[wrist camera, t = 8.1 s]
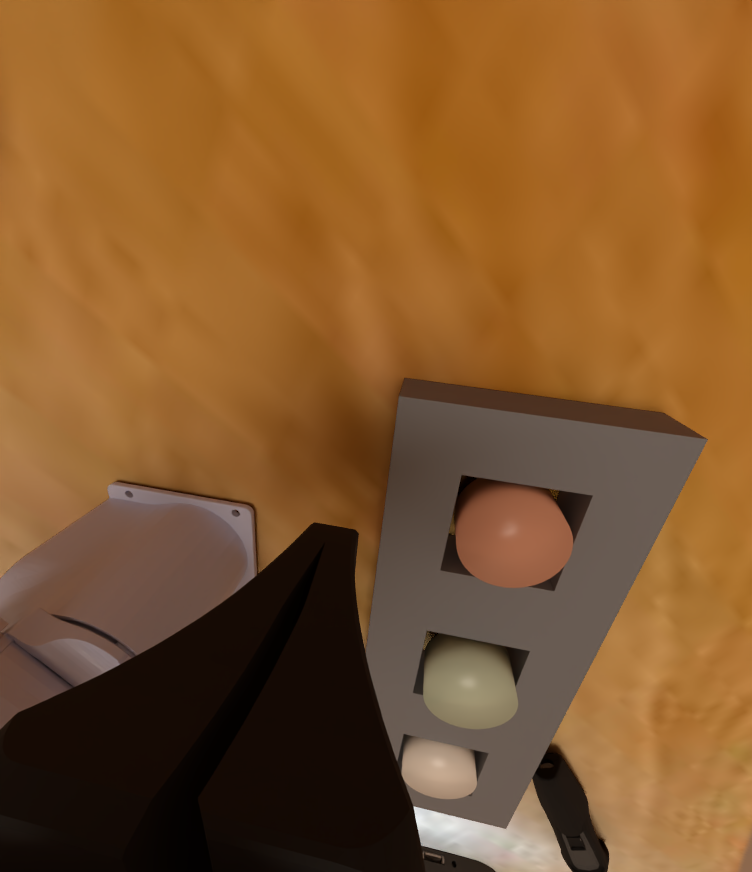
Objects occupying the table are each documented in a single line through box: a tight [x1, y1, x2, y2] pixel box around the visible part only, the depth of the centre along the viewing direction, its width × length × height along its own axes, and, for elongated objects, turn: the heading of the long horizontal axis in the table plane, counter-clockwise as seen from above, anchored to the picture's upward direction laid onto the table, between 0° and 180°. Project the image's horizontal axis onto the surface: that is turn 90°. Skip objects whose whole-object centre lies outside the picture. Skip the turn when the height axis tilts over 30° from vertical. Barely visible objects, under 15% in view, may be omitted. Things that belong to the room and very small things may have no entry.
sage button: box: [423, 633, 518, 729], centre depth 21 cm, size 5×5×2 cm
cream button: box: [402, 734, 477, 799], centre depth 26 cm, size 5×5×2 cm
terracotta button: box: [454, 478, 573, 588], centre depth 18 cm, size 5×5×2 cm
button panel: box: [366, 378, 708, 829], centre depth 23 cm, size 12×32×3 cm, turn 174°
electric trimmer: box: [532, 753, 609, 872], centre depth 29 cm, size 4×16×3 cm, turn 23°
